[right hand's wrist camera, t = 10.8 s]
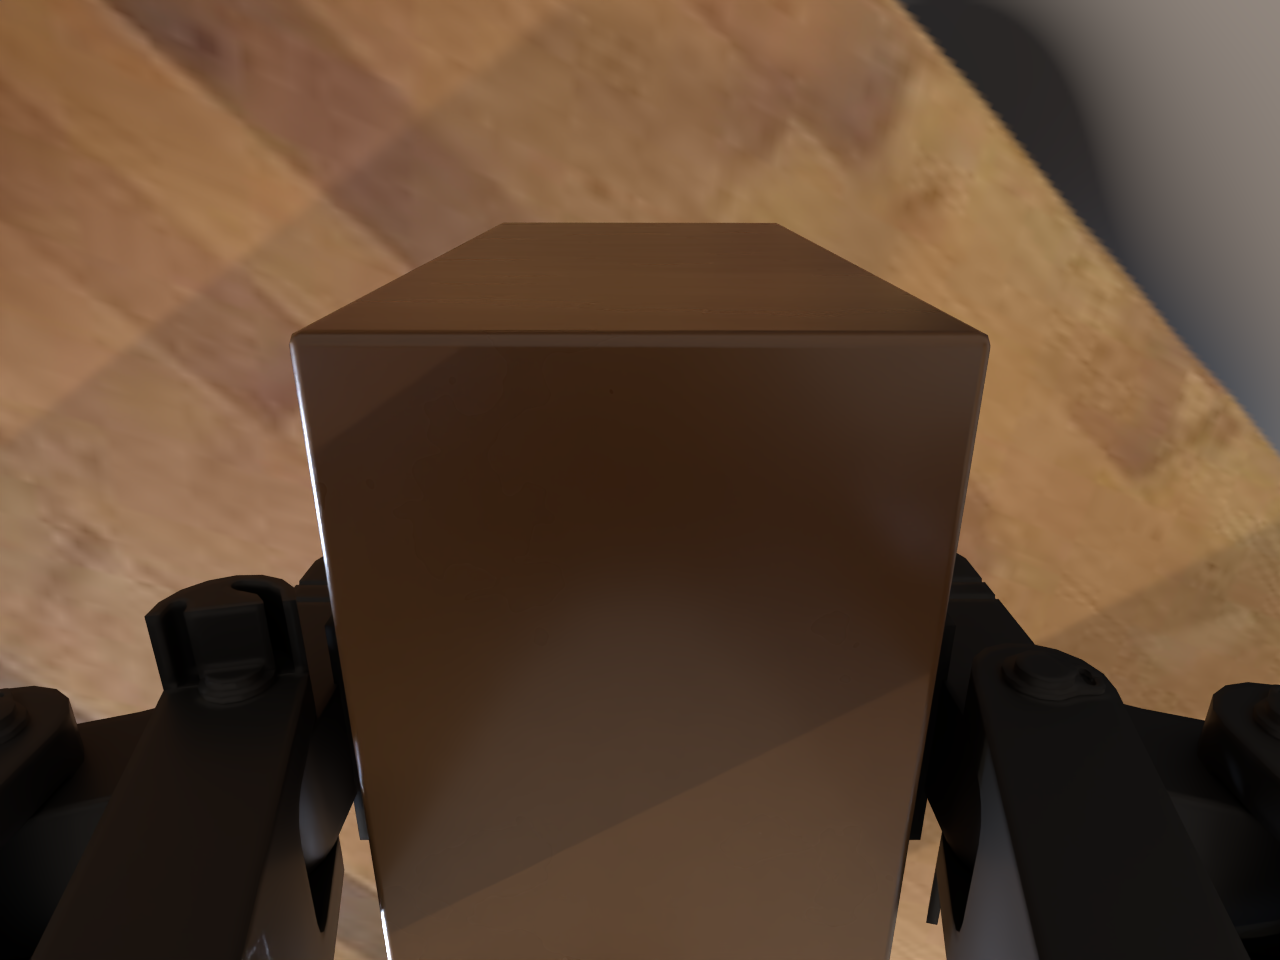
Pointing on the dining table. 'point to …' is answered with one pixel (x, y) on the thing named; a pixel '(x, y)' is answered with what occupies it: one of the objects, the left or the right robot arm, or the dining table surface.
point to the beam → (639, 586)
